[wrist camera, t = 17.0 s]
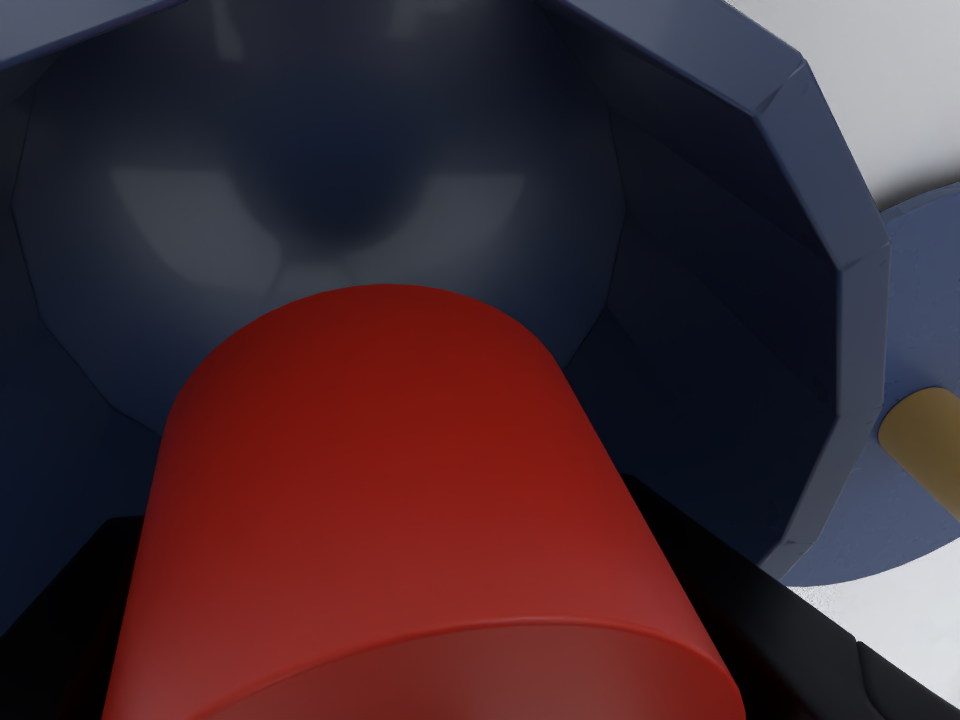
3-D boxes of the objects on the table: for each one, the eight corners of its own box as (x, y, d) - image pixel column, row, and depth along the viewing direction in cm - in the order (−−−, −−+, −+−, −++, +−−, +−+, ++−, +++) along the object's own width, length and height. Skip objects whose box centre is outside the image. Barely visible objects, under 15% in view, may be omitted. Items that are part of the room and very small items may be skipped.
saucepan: (348, 556, 21) (379, 870, 14) (-177, 256, 13) (-611, 619, 7) (740, 247, 18) (1002, 465, 11) (342, -354, 10) (437, -724, 4)
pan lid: (783, 615, 28) (881, 762, 23) (573, 418, 20) (659, 583, 15) (1144, 380, 24) (1341, 497, 20) (1067, 35, 16) (1363, 97, 12)
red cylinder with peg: (375, 643, 12) (431, 1115, 8) (63, 486, 9) (-163, 1118, 4) (643, 442, 11) (905, 859, 6) (387, 185, 8) (533, 627, 3)
